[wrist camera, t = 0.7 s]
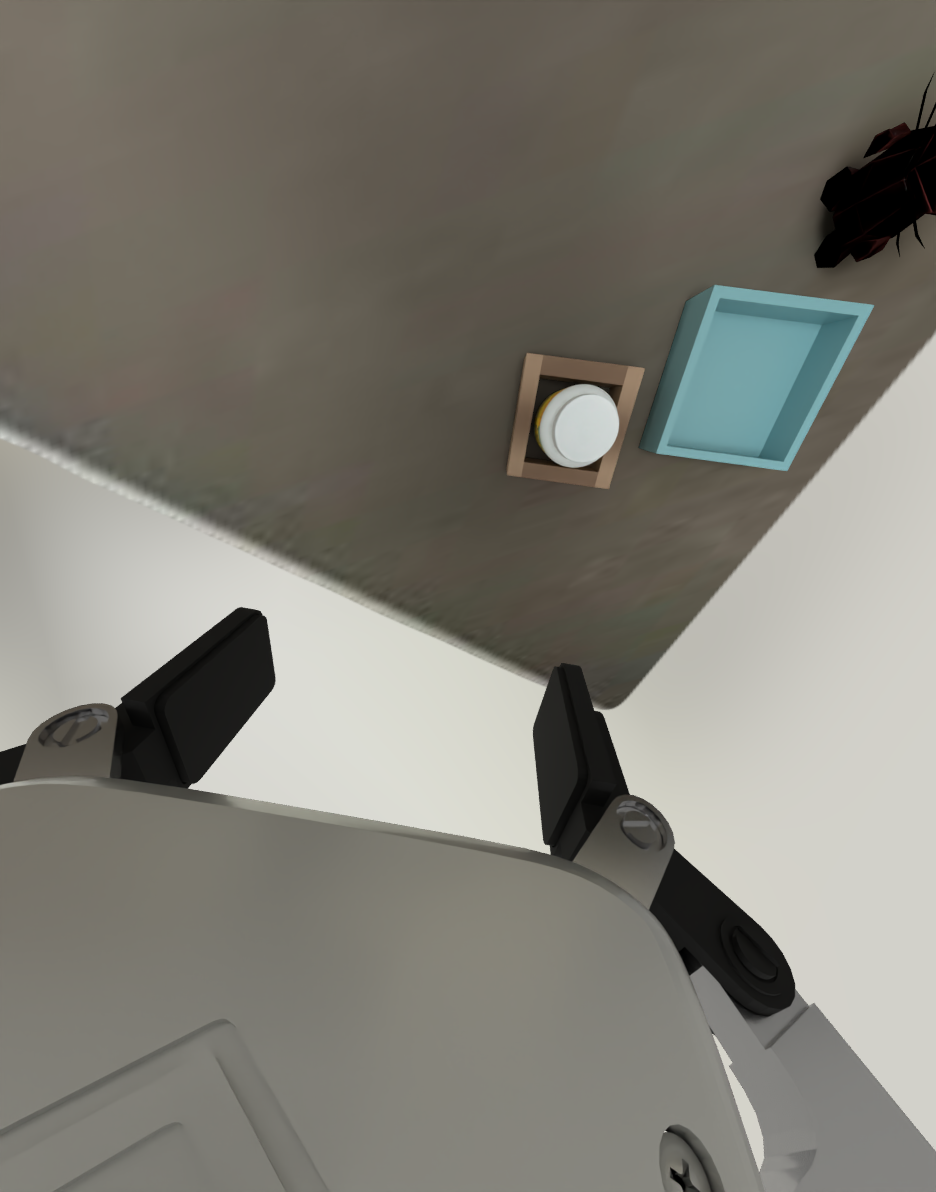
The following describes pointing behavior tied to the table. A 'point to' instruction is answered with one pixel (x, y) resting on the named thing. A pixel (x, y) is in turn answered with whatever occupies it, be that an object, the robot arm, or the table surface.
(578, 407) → the supplement bottle
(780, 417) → the tray
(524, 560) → the table surface
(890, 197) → the cat figurine
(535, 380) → the hollow wooden block
